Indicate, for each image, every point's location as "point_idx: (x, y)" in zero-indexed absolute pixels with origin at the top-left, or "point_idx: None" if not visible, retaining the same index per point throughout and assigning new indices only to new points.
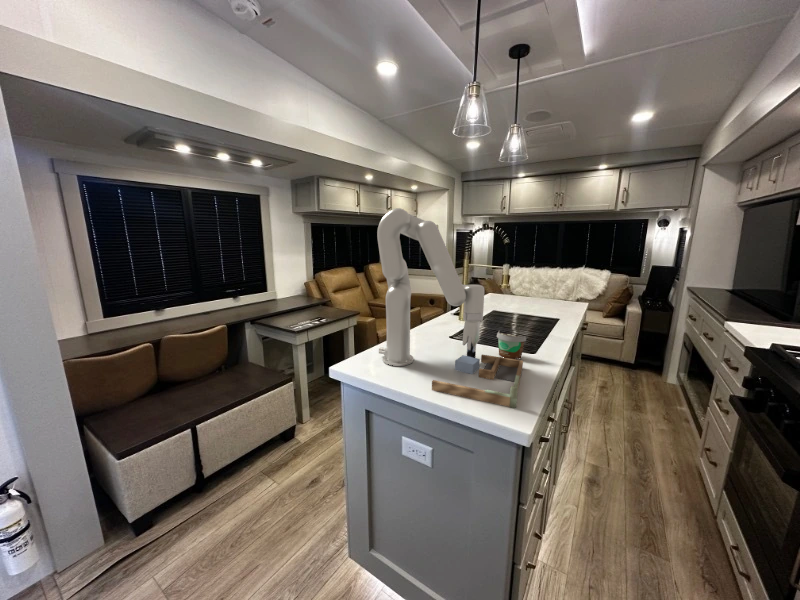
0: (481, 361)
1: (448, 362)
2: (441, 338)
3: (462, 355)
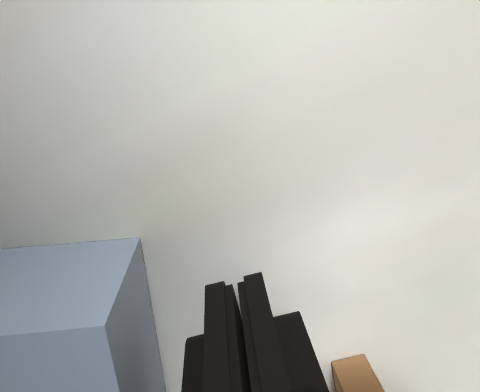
0: (336, 375)
1: (34, 46)
2: None
3: (80, 332)
